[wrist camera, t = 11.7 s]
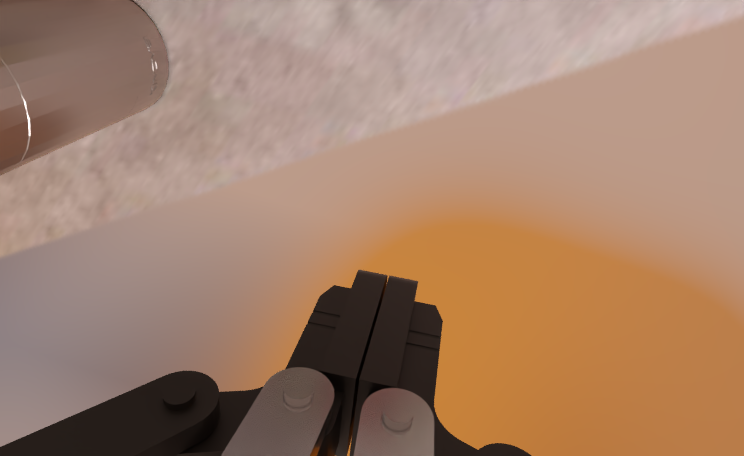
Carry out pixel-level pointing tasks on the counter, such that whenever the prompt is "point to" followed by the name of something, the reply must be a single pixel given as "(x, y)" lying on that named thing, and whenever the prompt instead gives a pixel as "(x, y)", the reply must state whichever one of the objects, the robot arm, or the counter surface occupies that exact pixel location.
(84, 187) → the counter surface
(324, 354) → the robot arm
